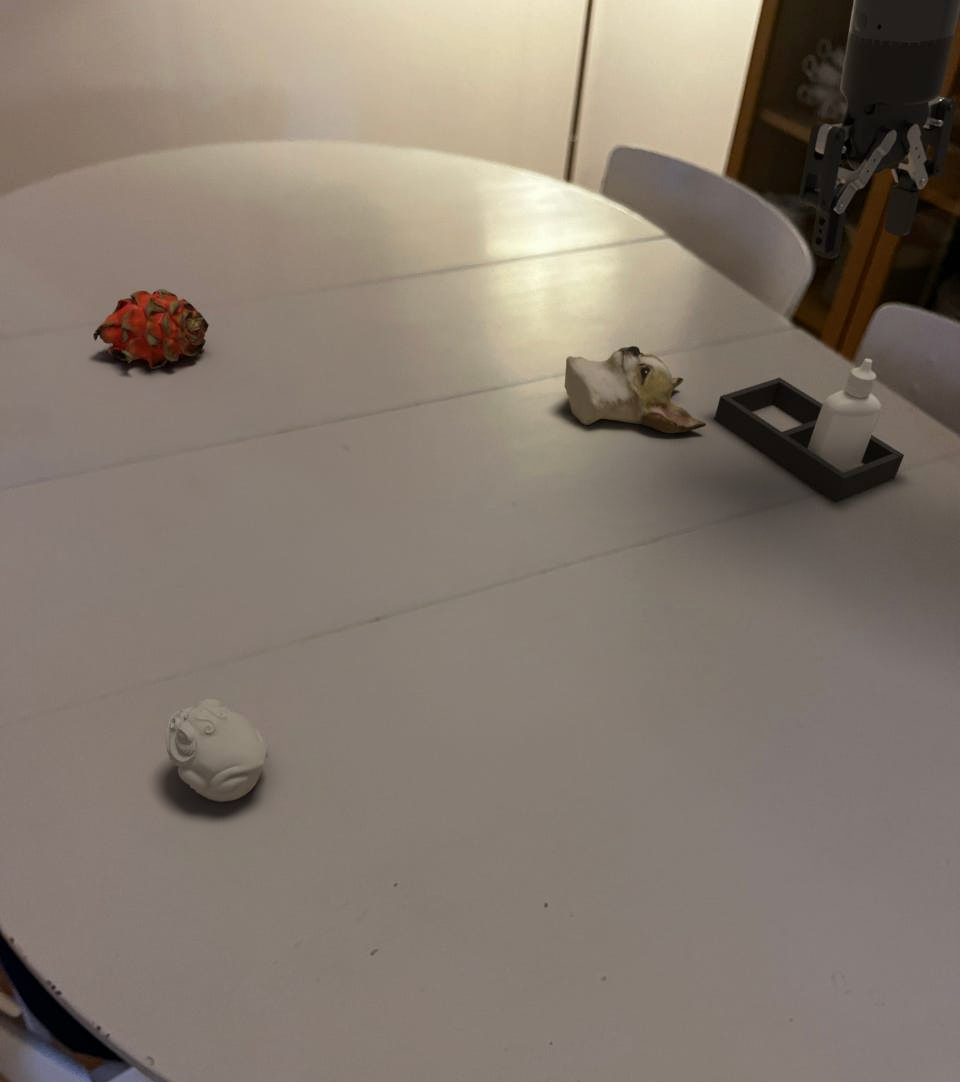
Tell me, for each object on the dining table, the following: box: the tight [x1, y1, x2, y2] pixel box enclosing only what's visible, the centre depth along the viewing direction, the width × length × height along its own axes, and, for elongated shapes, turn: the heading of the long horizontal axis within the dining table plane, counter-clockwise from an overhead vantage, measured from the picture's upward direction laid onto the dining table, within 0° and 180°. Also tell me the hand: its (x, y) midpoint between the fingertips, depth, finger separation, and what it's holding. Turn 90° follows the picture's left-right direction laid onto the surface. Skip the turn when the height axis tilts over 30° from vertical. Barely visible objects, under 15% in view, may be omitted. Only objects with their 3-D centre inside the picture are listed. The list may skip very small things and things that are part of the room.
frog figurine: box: [165, 698, 269, 803], centre depth 71 cm, size 6×7×7 cm
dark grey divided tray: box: [714, 377, 905, 503], centre depth 110 cm, size 9×17×4 cm, turn 34°
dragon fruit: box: [92, 288, 210, 370], centre depth 113 cm, size 8×8×12 cm
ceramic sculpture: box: [564, 345, 707, 434], centre depth 111 cm, size 11×9×15 cm
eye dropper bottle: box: [808, 358, 882, 473], centre depth 105 cm, size 4×6×12 cm
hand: (861, 244), depth 89 cm, fingers open, 8 cm apart
